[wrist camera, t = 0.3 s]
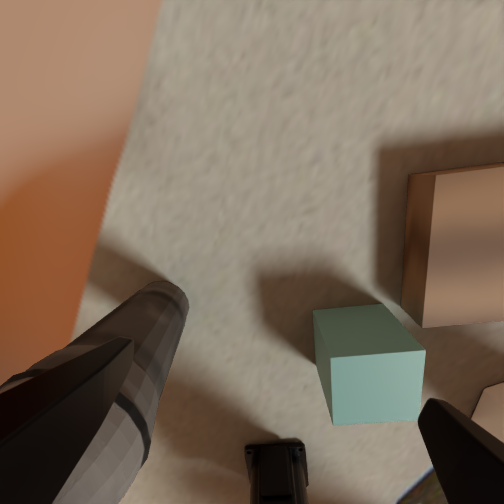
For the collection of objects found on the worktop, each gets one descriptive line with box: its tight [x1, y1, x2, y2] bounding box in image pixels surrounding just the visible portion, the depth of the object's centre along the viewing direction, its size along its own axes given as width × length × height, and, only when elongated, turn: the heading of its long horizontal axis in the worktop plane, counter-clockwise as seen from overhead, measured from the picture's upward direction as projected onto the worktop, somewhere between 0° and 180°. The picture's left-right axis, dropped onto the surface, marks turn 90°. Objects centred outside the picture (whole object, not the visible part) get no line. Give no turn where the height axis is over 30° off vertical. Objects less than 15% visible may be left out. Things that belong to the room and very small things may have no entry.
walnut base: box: [401, 162, 504, 328], centre depth 18 cm, size 11×11×3 cm
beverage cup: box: [0, 281, 189, 504], centre depth 13 cm, size 7×7×20 cm
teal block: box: [313, 304, 426, 426], centre depth 20 cm, size 6×6×6 cm
